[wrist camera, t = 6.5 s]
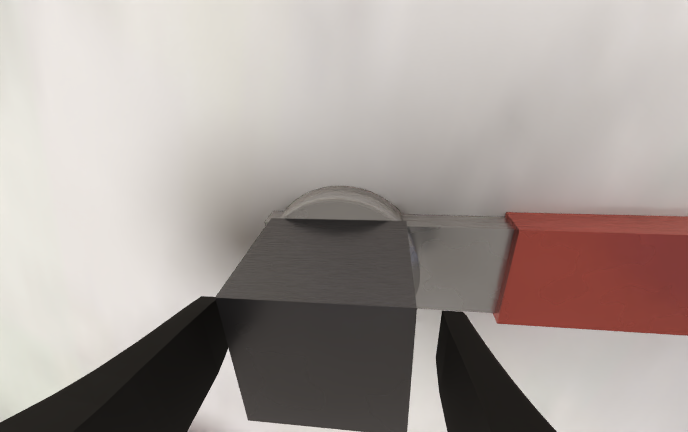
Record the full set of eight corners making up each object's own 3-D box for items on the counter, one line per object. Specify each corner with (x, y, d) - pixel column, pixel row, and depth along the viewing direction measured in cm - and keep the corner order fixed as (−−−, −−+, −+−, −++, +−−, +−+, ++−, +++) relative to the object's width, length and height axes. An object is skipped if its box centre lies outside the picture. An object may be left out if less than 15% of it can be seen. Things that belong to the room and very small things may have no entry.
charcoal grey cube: (406, 221, 12) (417, 307, 8) (400, 325, 14) (406, 435, 10) (271, 218, 12) (215, 297, 8) (286, 318, 14) (248, 420, 10)
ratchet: (764, 191, 11) (947, 256, 8) (684, 326, 14) (790, 422, 10) (266, 183, 14) (219, 232, 10) (282, 302, 16) (252, 375, 13)
